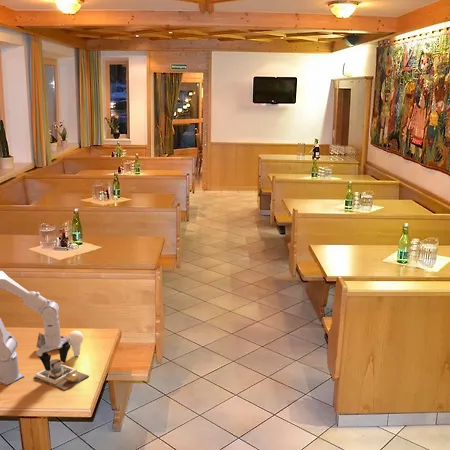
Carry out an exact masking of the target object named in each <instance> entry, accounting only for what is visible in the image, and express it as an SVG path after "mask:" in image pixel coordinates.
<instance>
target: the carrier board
mask: <svg viewBox="0 0 450 450" xmlns="http://www.w3.org/2000/svg"><path fill="white" fill-rule="evenodd" d="M66 371H67V373H69V372H70V371H68V370H66ZM77 373H78V382H76V383H73V384H69V383H67V381H66V379H64V380H62V381H60V382H58V383H56V384H53V383H50V382H48V381H45V380H43V379H40V378H38V377H36V375H35V376H33V379H35V380H37V381H39V382H42V383H45V384H47V385H50V386H51V387H52V386H53V387H54V388H57V389H60V390H62V391H67V390H69V389H70V388H72V387H74V386H76V385H78V384H80V382H83V381H84V380H86V379H88V378H89V377H90V375H88V374H85V373H82V372H79V371H77ZM64 375H65V374H64ZM43 376H46V373H45V374H43ZM46 377H48V376H46ZM51 379H54V380H56V379H55V378H51ZM57 379H58V378H57Z"/></svg>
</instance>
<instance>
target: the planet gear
mask: <svg viewBox="0 0 450 450" xmlns="http://www.w3.org/2000/svg"><path fill="white" fill-rule="evenodd" d="M61 364H62V362H61V360H60V358H59V359H58V358H57V359H52V360H50V371H48V372H46V376H48V378H55V379H57V378H59V377H61V376H63V375H64V374H67V371H66V370H65V368H64V367H62V368H61Z"/></svg>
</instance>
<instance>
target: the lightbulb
mask: <svg viewBox="0 0 450 450" xmlns="http://www.w3.org/2000/svg"><path fill="white" fill-rule="evenodd" d="M67 337H70V342H69V344H70V347H71V348H72V352H73V355H74V356H76V357H78V356H79V355H80V354H81V345H82V343H83V340H84V335H83V333H82V332H81V331H79V330H72V331H71V332H69V334H68V336H67Z"/></svg>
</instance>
